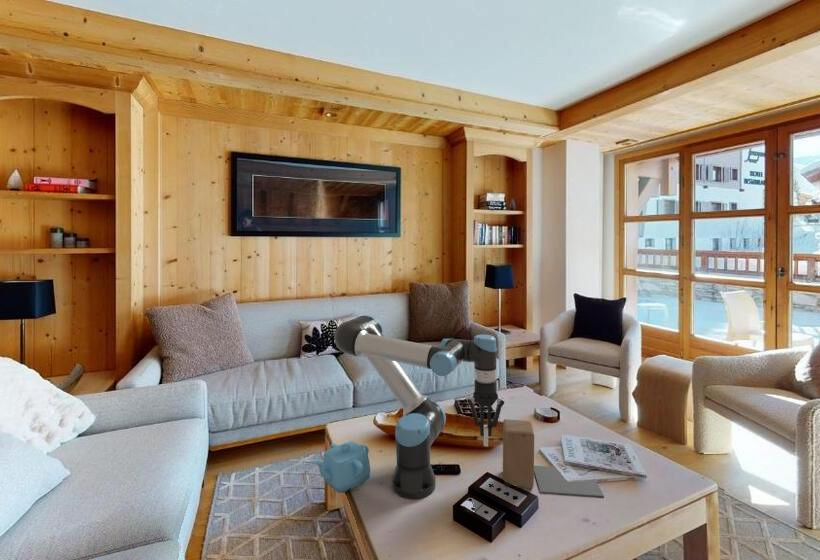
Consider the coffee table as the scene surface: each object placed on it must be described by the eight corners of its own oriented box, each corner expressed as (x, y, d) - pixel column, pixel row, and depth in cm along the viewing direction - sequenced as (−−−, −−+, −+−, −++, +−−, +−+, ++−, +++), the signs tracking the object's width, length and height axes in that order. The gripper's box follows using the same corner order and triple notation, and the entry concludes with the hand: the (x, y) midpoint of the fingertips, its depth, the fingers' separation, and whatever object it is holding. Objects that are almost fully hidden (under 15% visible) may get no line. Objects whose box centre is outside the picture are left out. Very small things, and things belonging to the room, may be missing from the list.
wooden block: (534, 490, 131) (534, 433, 129) (503, 487, 133) (503, 431, 131) (530, 472, 140) (531, 419, 138) (502, 469, 142) (502, 417, 140)
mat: (540, 492, 129) (540, 491, 129) (532, 466, 144) (532, 465, 144) (603, 497, 126) (603, 495, 126) (589, 470, 141) (589, 468, 141)
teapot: (333, 466, 147) (332, 432, 146) (375, 469, 144) (374, 435, 143) (313, 497, 129) (311, 459, 128) (360, 502, 126) (358, 463, 125)
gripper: (466, 383, 132) (467, 449, 134) (505, 384, 130) (505, 451, 132) (466, 375, 139) (467, 438, 141) (503, 376, 137) (503, 439, 140)
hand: (485, 444), depth 137 cm, fingers closed
